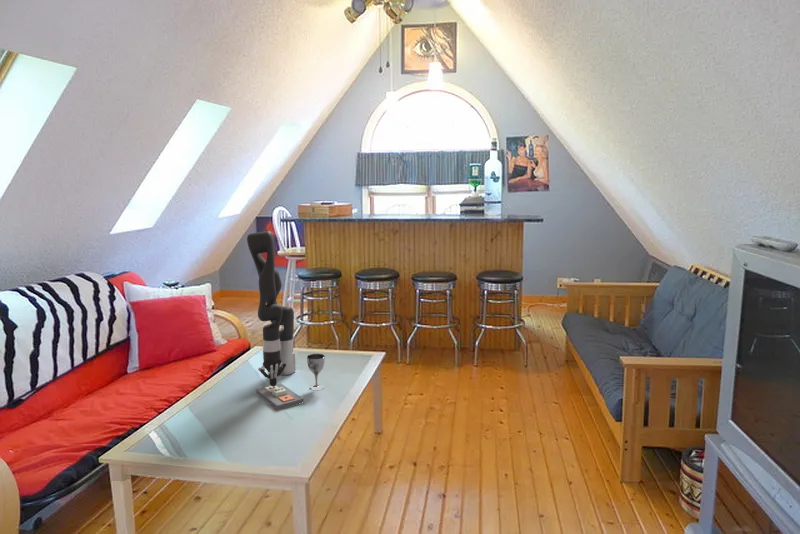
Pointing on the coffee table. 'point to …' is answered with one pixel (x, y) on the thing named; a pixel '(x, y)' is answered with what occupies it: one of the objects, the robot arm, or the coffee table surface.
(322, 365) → the wine glass
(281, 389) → the sage button
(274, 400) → the button board
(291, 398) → the terracotta button
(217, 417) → the coffee table surface
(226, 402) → the coffee table surface
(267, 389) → the cream button
